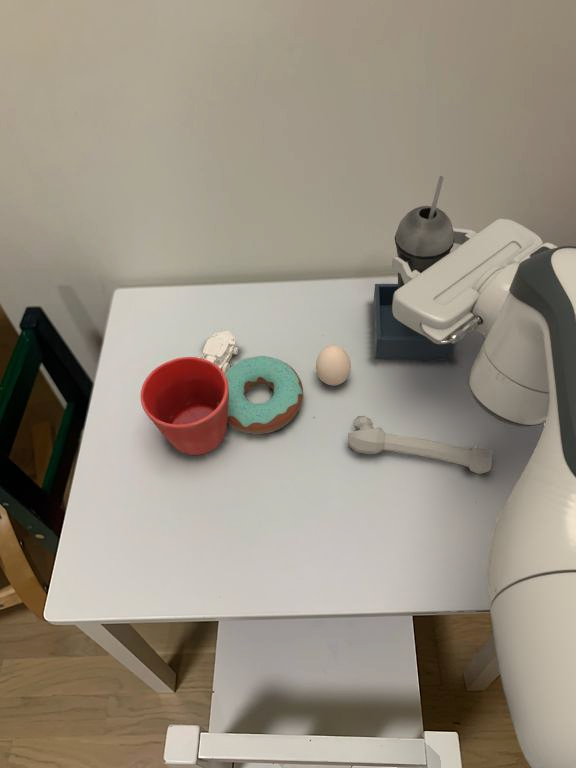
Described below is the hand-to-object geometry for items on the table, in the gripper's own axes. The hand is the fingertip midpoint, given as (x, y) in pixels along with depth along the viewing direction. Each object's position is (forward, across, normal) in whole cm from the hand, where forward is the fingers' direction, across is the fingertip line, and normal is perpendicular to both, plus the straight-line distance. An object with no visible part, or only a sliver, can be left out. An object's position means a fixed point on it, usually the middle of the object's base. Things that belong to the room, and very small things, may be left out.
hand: (418, 244), depth 75 cm
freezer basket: (-1, 0, -16) cm, 16 cm away
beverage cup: (-1, 0, -10) cm, 10 cm away
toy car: (+14, -24, -17) cm, 33 cm away
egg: (0, -14, -17) cm, 22 cm away
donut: (+4, -24, -17) cm, 30 cm away
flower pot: (+6, -34, -17) cm, 38 cm away
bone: (-16, -14, -17) cm, 27 cm away
